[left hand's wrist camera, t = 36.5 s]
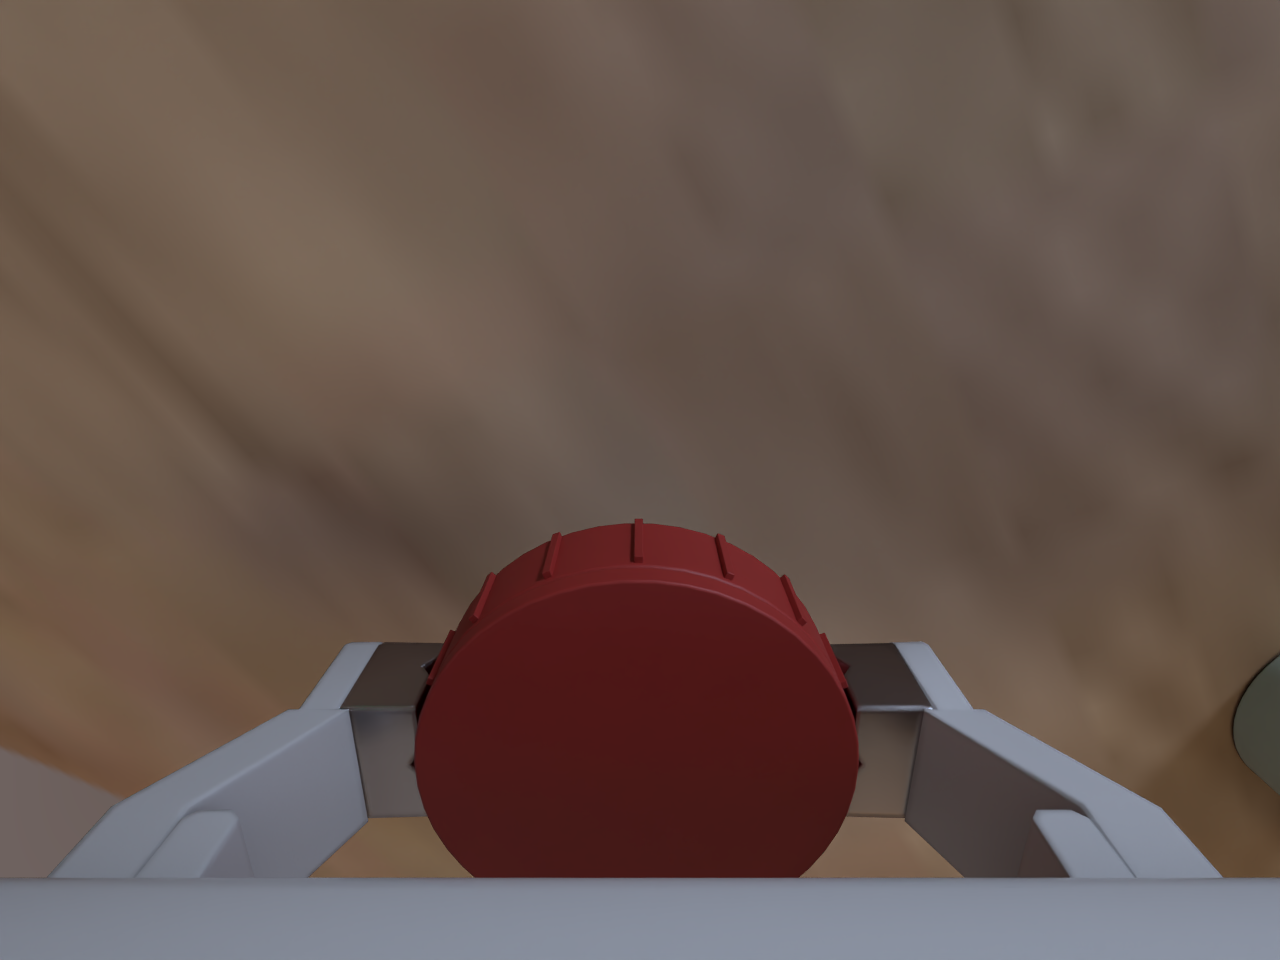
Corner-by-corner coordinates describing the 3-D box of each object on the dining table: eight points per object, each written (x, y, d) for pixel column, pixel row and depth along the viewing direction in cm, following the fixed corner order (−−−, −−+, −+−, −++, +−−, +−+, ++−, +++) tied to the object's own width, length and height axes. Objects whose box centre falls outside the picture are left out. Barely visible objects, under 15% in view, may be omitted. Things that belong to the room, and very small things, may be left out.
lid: (808, 485, 9) (842, 538, 8) (844, 811, 11) (878, 907, 10) (395, 557, 10) (346, 622, 8) (500, 860, 11) (478, 960, 10)
